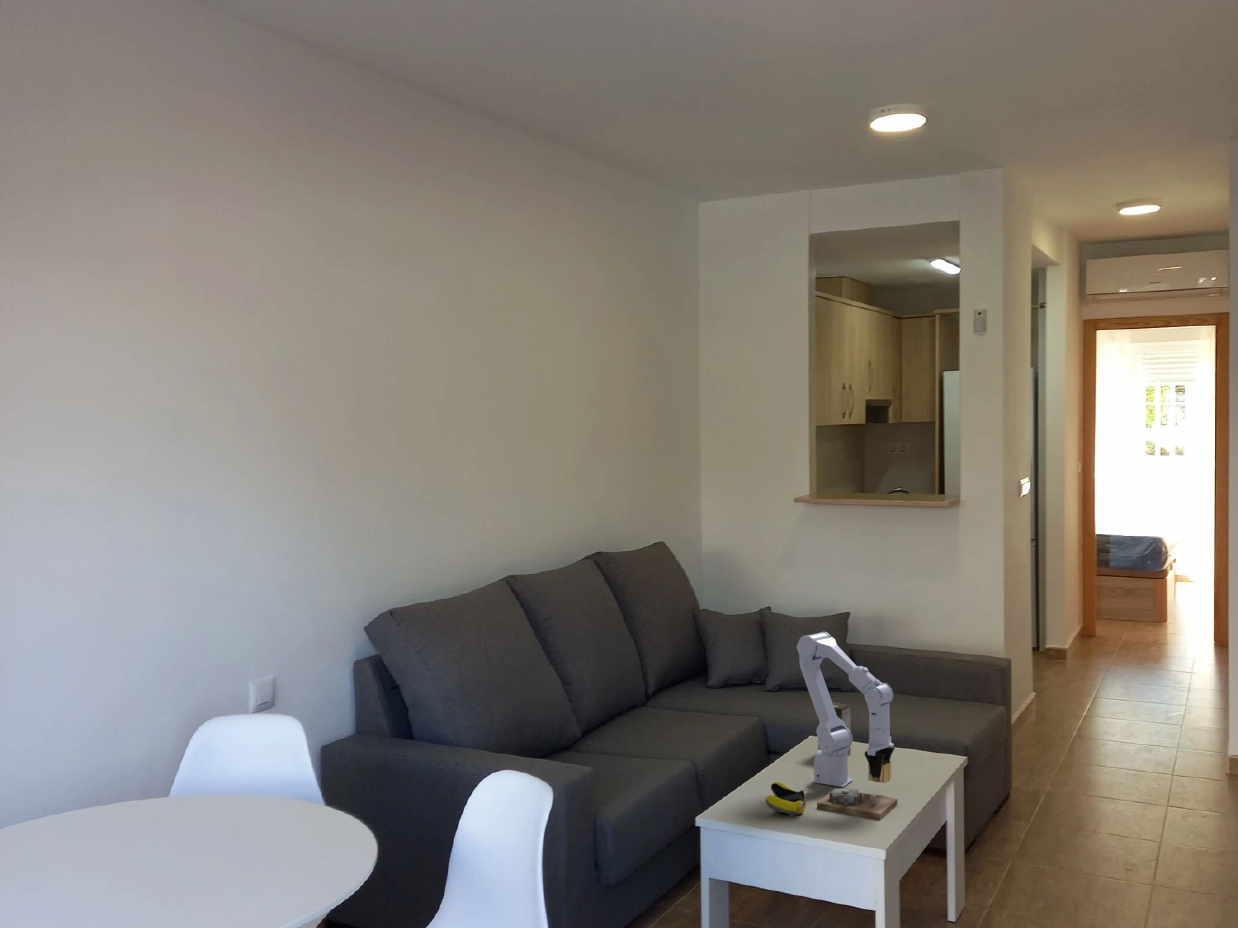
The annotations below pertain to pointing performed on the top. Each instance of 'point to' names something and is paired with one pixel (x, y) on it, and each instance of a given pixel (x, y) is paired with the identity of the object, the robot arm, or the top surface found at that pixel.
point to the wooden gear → (882, 773)
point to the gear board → (857, 803)
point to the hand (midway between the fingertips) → (879, 774)
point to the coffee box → (843, 716)
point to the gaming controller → (786, 799)
